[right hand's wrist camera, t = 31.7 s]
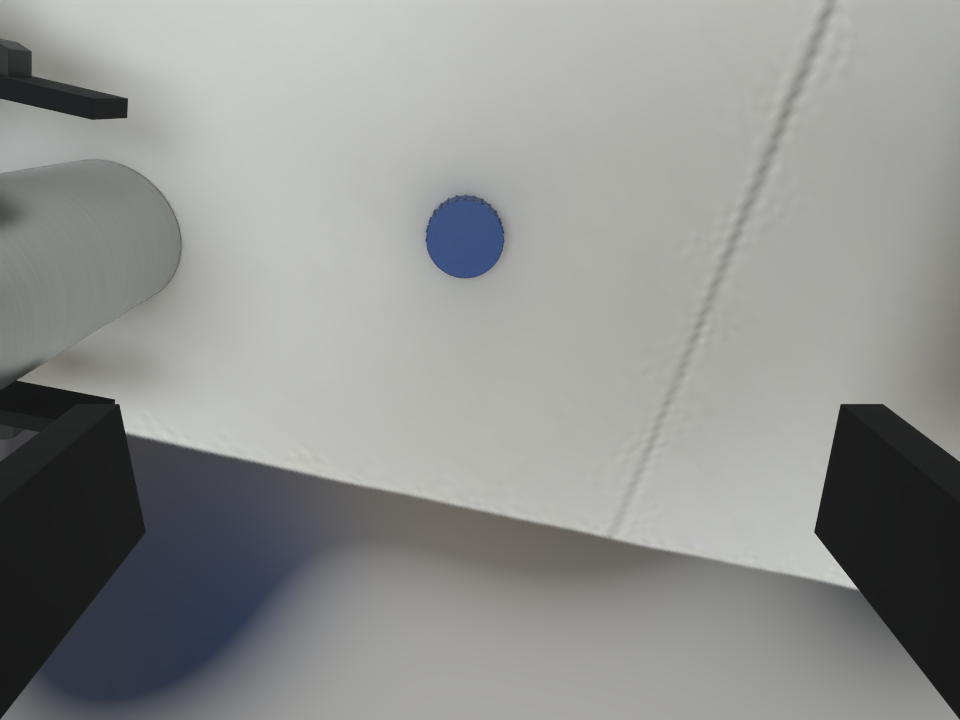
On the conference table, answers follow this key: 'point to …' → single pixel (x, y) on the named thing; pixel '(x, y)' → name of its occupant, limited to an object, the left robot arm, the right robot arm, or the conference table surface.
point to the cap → (465, 237)
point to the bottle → (76, 255)
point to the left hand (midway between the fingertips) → (106, 276)
